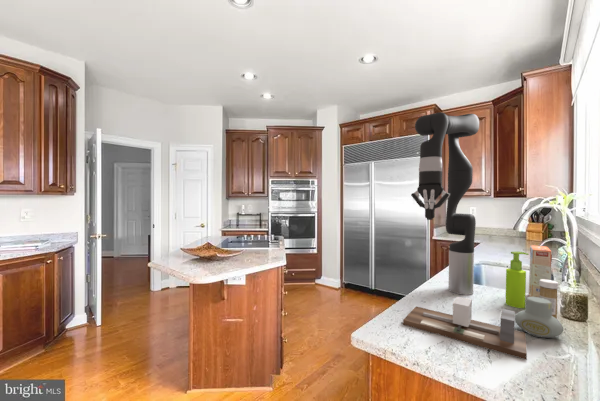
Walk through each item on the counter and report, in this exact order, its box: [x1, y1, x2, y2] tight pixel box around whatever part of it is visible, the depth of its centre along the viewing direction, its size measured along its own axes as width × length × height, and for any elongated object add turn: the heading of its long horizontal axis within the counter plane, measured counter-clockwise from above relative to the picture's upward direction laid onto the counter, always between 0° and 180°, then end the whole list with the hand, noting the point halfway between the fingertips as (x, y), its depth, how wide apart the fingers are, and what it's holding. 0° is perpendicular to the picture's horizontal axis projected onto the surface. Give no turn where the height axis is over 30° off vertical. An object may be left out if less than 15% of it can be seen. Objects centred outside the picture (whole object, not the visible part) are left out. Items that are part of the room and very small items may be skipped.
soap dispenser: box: [505, 251, 529, 309], centre depth 105 cm, size 6×7×20 cm
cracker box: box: [528, 244, 553, 298], centre depth 110 cm, size 14×6×21 cm, turn 143°
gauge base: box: [402, 306, 528, 360], centre depth 84 cm, size 14×30×8 cm, turn 52°
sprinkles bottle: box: [539, 279, 559, 320], centre depth 91 cm, size 5×5×13 cm
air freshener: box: [515, 296, 564, 339], centre depth 83 cm, size 11×8×10 cm
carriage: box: [452, 296, 473, 331], centre depth 83 cm, size 11×4×6 cm, turn 142°
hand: (429, 219), depth 100 cm, fingers closed
